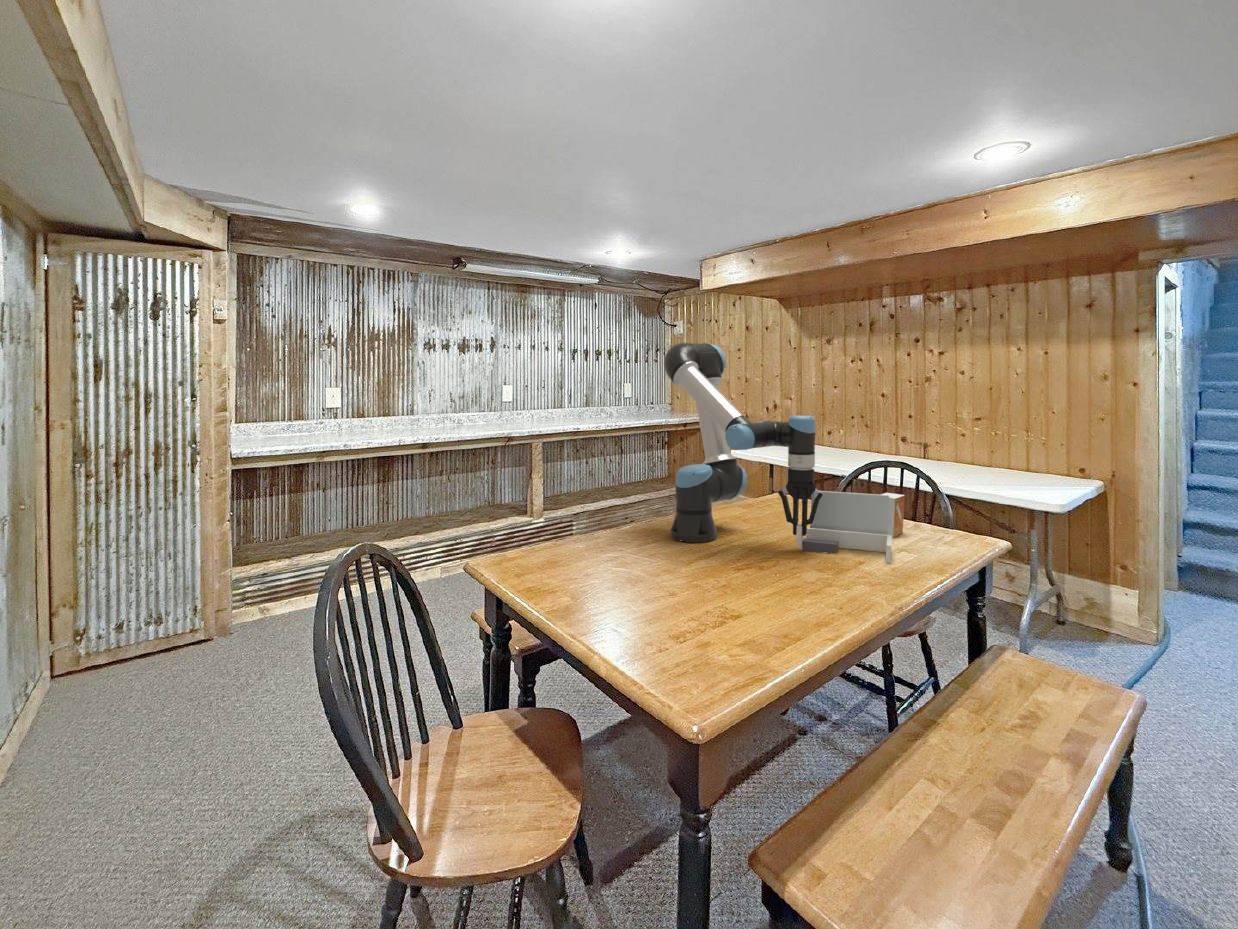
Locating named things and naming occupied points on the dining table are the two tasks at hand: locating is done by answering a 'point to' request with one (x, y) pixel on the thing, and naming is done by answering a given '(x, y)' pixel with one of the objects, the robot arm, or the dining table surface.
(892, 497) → the small box
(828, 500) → the cover
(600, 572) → the dining table surface
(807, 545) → the dark blue-grey block
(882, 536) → the grey bench block
